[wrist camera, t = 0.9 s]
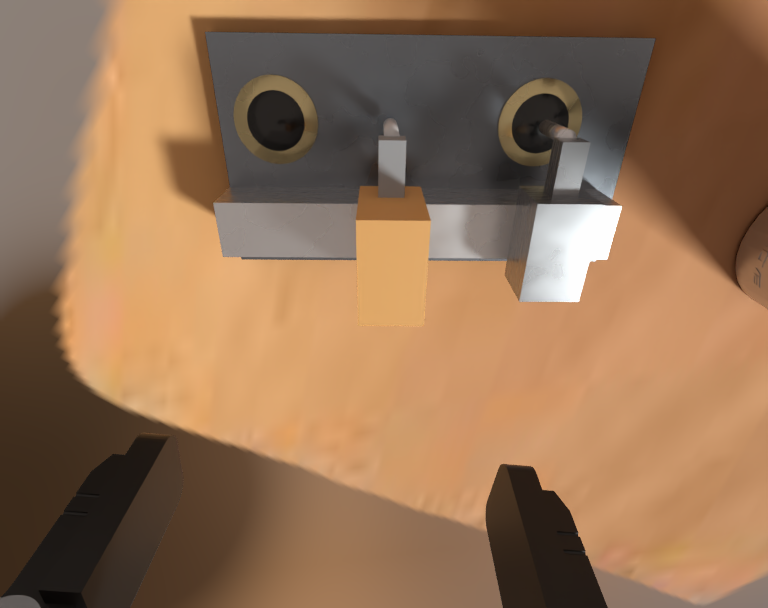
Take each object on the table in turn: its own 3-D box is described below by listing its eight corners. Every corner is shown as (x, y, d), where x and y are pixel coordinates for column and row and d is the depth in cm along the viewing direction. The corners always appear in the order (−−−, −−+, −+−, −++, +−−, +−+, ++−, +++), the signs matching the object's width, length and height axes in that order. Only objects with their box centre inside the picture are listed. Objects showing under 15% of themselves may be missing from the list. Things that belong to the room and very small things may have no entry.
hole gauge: (645, 38, 23) (741, 36, 17) (588, 254, 29) (644, 310, 23) (211, 32, 22) (150, 27, 16) (245, 252, 28) (210, 308, 22)
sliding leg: (419, 118, 23) (435, 146, 16) (413, 259, 27) (423, 326, 20) (360, 117, 23) (354, 145, 16) (362, 259, 27) (358, 325, 20)
